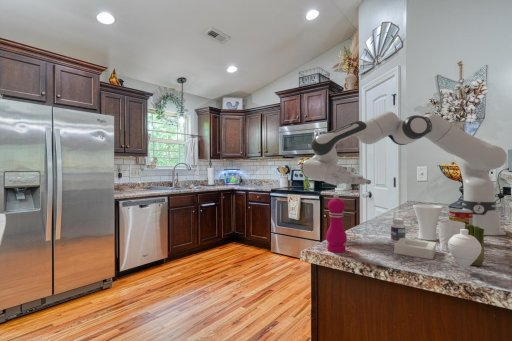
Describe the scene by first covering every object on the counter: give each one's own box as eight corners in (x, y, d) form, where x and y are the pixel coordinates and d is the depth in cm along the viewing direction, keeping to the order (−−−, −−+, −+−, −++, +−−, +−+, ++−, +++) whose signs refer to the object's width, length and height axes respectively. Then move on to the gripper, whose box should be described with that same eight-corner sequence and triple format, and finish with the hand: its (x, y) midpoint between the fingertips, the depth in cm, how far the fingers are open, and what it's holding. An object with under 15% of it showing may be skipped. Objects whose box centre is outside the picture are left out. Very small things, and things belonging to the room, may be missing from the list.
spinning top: (452, 274, 78) (452, 231, 78) (444, 265, 85) (444, 225, 85) (486, 278, 76) (486, 233, 75) (475, 268, 83) (475, 227, 83)
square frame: (400, 245, 107) (400, 237, 107) (435, 251, 100) (435, 242, 100) (394, 253, 98) (394, 244, 98) (432, 259, 91) (432, 249, 91)
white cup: (457, 255, 96) (457, 225, 96) (433, 249, 103) (433, 221, 103) (470, 251, 100) (470, 223, 99) (446, 246, 107) (446, 219, 106)
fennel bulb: (486, 268, 83) (487, 227, 83) (466, 266, 85) (466, 226, 85) (480, 262, 88) (480, 223, 88) (461, 260, 90) (461, 222, 90)
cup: (448, 240, 115) (448, 207, 114) (429, 243, 111) (429, 208, 111) (425, 234, 124) (425, 203, 124) (407, 236, 121) (407, 205, 121)
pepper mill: (348, 253, 98) (347, 195, 98) (326, 252, 99) (326, 195, 99) (345, 247, 105) (345, 193, 105) (325, 246, 106) (325, 193, 106)
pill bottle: (388, 239, 117) (388, 217, 117) (400, 239, 117) (400, 217, 117) (395, 242, 112) (395, 220, 112) (408, 242, 112) (408, 219, 112)
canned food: (449, 236, 121) (449, 208, 120) (472, 239, 116) (472, 210, 116) (448, 240, 114) (448, 211, 114) (473, 243, 110) (473, 212, 110)
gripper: (329, 167, 117) (363, 175, 109) (344, 168, 134) (375, 175, 126) (325, 182, 118) (359, 190, 110) (341, 181, 135) (371, 189, 127)
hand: (368, 182), depth 118 cm, fingers open, 8 cm apart
